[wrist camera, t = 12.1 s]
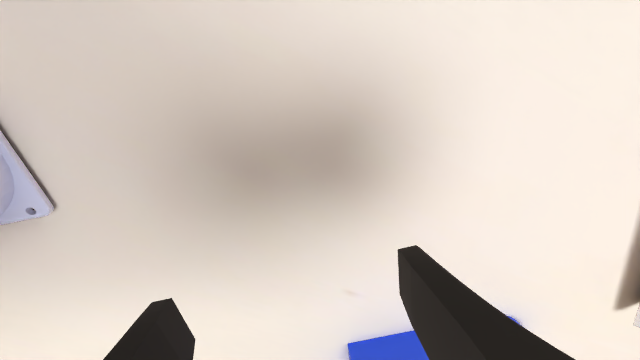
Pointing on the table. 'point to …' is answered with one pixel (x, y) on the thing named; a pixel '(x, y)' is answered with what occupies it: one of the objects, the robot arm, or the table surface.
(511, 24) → the table surface
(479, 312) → the robot arm
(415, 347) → the bracket
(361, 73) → the table surface
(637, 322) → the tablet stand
